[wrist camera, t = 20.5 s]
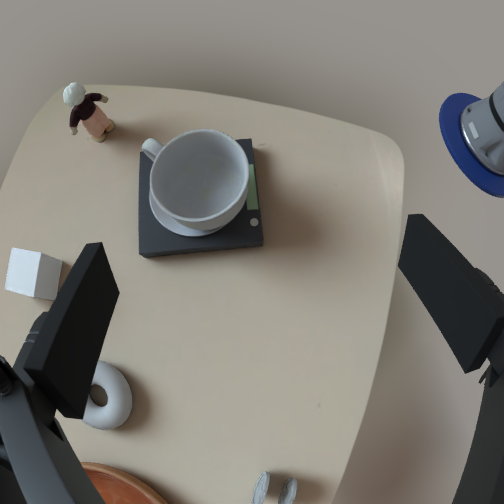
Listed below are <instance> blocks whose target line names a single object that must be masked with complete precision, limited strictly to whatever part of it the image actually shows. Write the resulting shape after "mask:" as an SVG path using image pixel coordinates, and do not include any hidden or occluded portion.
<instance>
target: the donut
mask: <svg viewBox="0 0 504 504" xmlns="http://www.w3.org/2000/svg"><path fill="white" fill-rule="evenodd" d="M93 384H98V385H100V386H102V387H103V388H104V389H105V391H106V393H107V395H108V403H107V405H106V406H104V407H100V406H97V405H96V404H95V403H94V402H93V401H92V400H91V398H90V395H89V397H88V401H87V405H86V409H85V413H84V417H83V419H81V420H82V421H83V422H84V423H86V424H88V425H89V426H91V427H93V428H97V429H101V430H108V429H114V428H116V427H118V426H120V425H122V424H123V423H124V422H125V420H126V419H127V418H128V417H129V415H130V412H131V409H132V394H131V390H130V387H129V384H128V383H127V381H126V379H125V378H124V376H123V375H122V374H121V373H120V372H119V371H118V370H117V369H116V368H115V367H114V366H112V365H110V364H108V363H106V362H103V361H98V363H97V367H96V370H95V374H94V377H93V381H92V385H93Z"/></svg>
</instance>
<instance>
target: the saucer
mask: <svg viewBox="0 0 504 504" xmlns="http://www.w3.org/2000/svg"><path fill="white" fill-rule="evenodd" d="M80 463H81V465H82V467H83V468H84V470H85V472H86V473H87V475H88V477H89V478H90V480H91V481H92V483H93V485H94V486H95V488H96V489H97V491H98V492H99V494H100V495H101V497H102V498H103V500H104V501H105V503H106V504H168V503H167V502H166V501H165V500H164V499H163V498H162V497H161V496H160V495H159V494H158V493H157V492H155V491H154V490H153V489H151V488H150V487H149V486H148V485H146V484H145V483H143V482H142V481H140V480H138V479H137V478H135V477H133V476H131V475H129V474H127V473H125V472H123V471H121V470H118V469H116V468H113V467H110V466H106V465H103V464H98V463H91V462H80Z"/></svg>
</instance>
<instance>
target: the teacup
mask: <svg viewBox="0 0 504 504" xmlns="http://www.w3.org/2000/svg"><path fill="white" fill-rule="evenodd" d="M142 150H143V152H144V153H145V154H146V155H147V156H148V157H149V158H150V159H151V160H152V161H153V162H154V163H153V166H152V169H151V173H150V188H151V192H152V195H153V197H154V200H155V201H156V203H157V204H158V206H159V207H160V208H161V209H162V210H163V211H164V212H165V213H167V214H168V215H169V216H171V217H172V218H173V219H174V220H175V221H177V222H178V223H180V224H181V225H183V226H185V227H188V228H191V229H195V230H210V229H215V228H218V227H220V226H223V225H225V224H226V223H228V222H229V221H231V220H232V219H233V218H234V217H235V216H236V215H237V214H238V213H239V211H240V210H241V208H242V207H243V205H244V203H245V200H246V197H247V192H248V183H249V177H250V170H249V163H248V159H247V156H246V154H245V152H244V150H243V148H242V147H241V146H240V145H239V143H237V141H236V140H234V139H233V138H232V137H230V136H229V135H226V134H225V133H221V132H219V131H216V130H210V129H198V130H192V131H188V132H186V133H183V134H181V135H179V136H177V137H176V138H174V139H173V140H171V141H170V142H169V143H168V144H166V145H165V146H164V145H162V144H161V143H160V142H158V141H157V140H155V139H152V138H149V139H147V140H146V141H145V142H144V143H143V145H142Z"/></svg>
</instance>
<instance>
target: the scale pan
mask: <svg viewBox="0 0 504 504" xmlns="http://www.w3.org/2000/svg"><path fill="white" fill-rule="evenodd" d="M150 204H151V208H152V211H153V213H154V215H155V217H156V218H157V220H158V221H159V222H160V223H161V224H162V225H163V226H164V227H165V228H166V229H167V230H169V231H170V232H172V233H174V234H176V235H179V236H183V237H189V238H199V237H205V236H209V235H212V234H214V233H216V232H218V231H220V230H222V229H223V228H224V227H226V226H227V225H228V224H229V223H230V222H231V221H232V220H233V219H234V218H235V217H234V218H233V219H232V220H231V221H229V222H228V223H226V224H225V225H223V226H220V227H218V228H215V229H210V230H195V229H191V228H188V227H185V226H183V225H181V224H180V223H178V222H177V221H175V220H174V219H173V218H172V217H171V216H169V215H168V214H167V213H165V212H164V211H163V210H162V209H161V208H160V207H159V206H158V204H157V203H156V201H155V200H154V197H153V195H152V192H151V188H150Z"/></svg>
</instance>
